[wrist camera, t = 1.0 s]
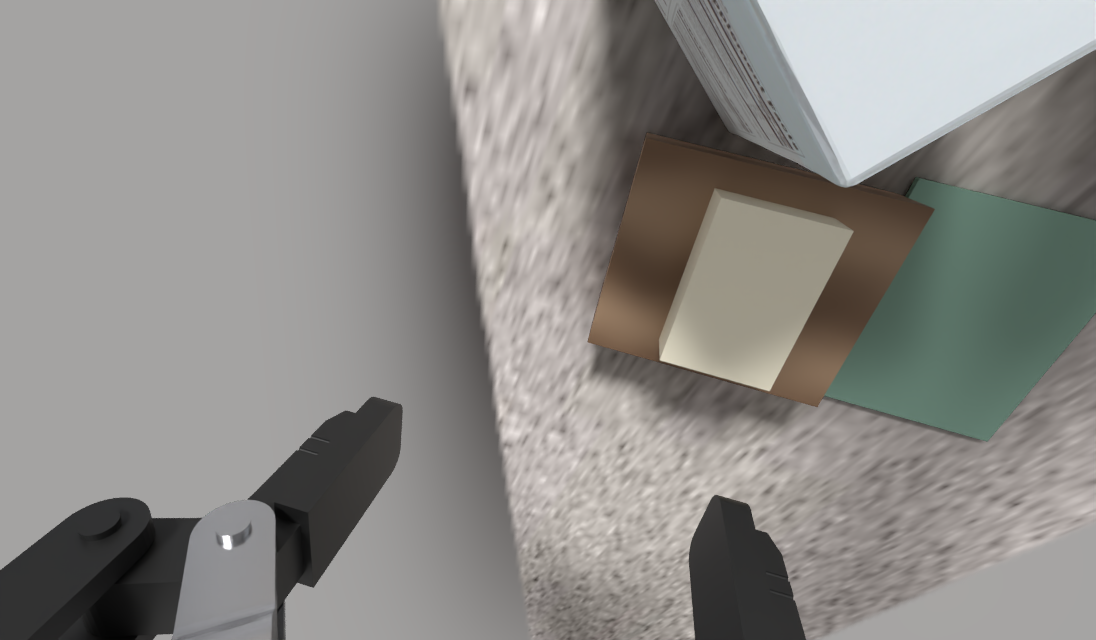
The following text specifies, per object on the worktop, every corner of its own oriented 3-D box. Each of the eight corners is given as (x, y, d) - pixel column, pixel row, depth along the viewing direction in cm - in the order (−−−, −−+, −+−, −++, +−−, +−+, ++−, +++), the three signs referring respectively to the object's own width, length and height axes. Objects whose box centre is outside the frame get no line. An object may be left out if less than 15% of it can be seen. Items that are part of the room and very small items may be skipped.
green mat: (915, 177, 25) (919, 178, 25) (1153, 234, 24) (1160, 236, 24) (799, 386, 32) (800, 389, 32) (983, 437, 31) (987, 441, 31)
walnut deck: (646, 132, 27) (646, 138, 24) (896, 193, 26) (935, 208, 22) (594, 315, 33) (587, 342, 29) (798, 371, 31) (817, 407, 28)
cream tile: (714, 188, 24) (721, 197, 22) (834, 218, 23) (853, 231, 21) (658, 339, 28) (659, 360, 26) (760, 367, 28) (769, 391, 25)
